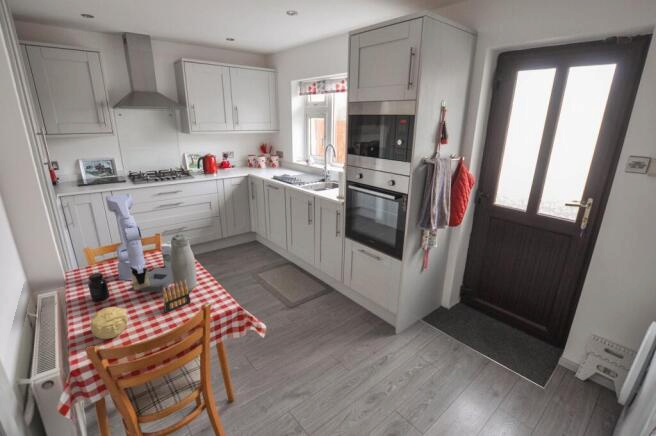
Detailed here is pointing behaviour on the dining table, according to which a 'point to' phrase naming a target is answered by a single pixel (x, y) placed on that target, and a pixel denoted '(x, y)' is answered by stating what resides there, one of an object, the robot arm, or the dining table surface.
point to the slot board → (158, 280)
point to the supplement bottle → (98, 287)
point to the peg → (136, 284)
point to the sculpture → (109, 322)
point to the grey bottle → (183, 262)
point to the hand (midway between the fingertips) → (140, 281)
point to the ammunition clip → (175, 297)
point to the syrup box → (166, 254)
